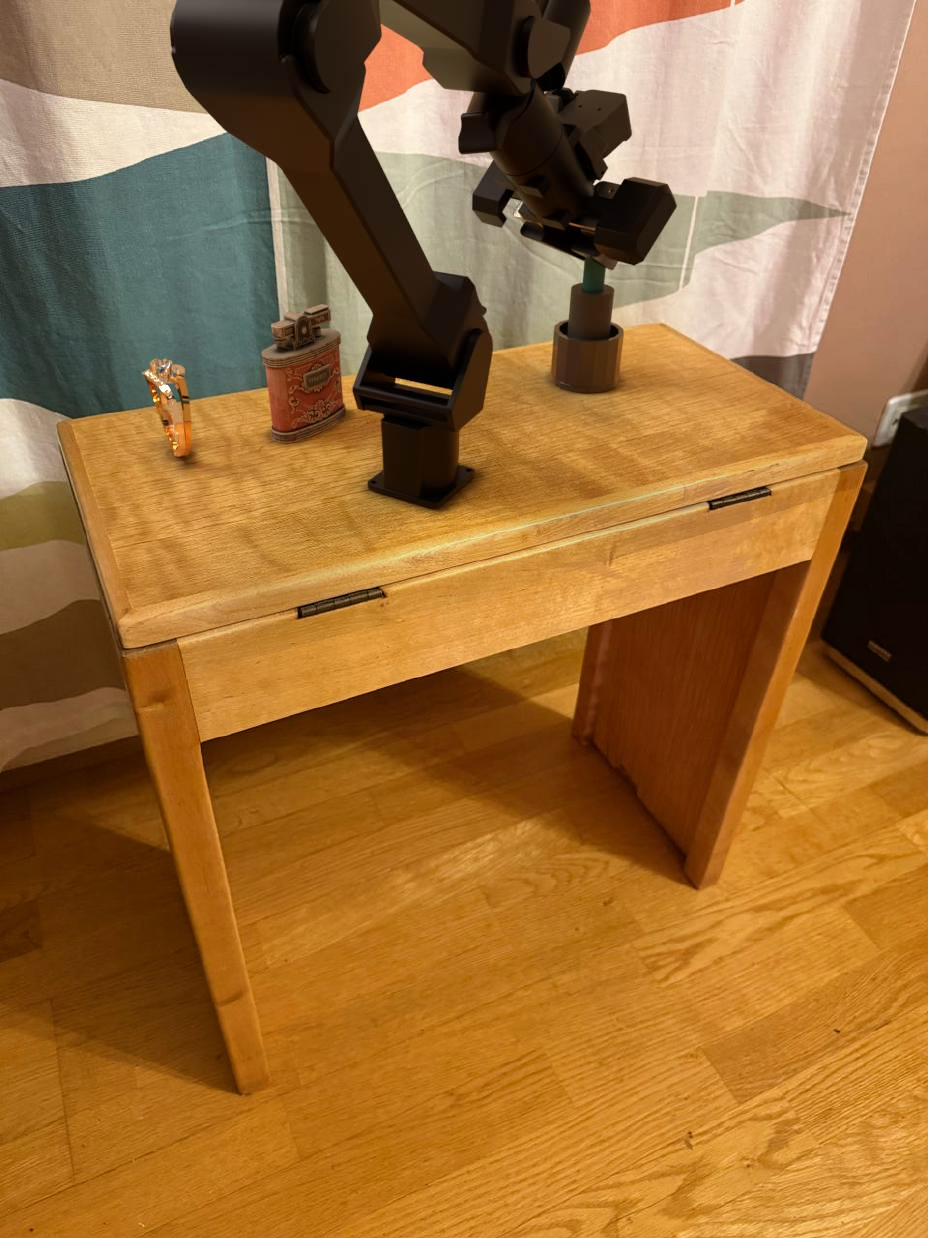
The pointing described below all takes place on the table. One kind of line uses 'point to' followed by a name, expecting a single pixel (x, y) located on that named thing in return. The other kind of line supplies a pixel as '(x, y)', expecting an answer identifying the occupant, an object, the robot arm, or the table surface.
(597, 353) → the tumbler
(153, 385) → the ring
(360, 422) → the table surface
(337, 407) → the lighter
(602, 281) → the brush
